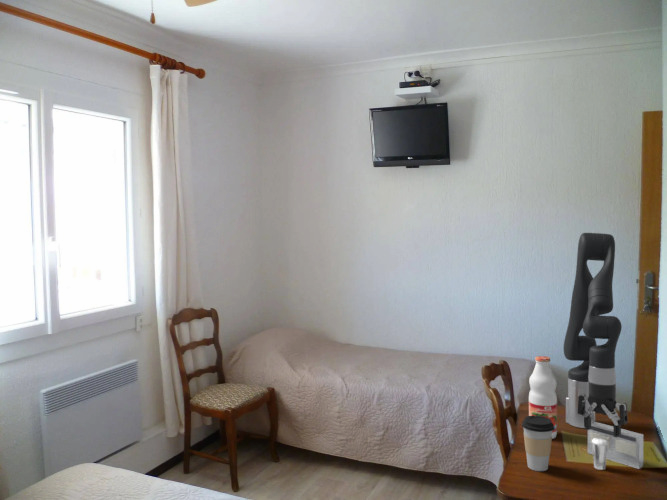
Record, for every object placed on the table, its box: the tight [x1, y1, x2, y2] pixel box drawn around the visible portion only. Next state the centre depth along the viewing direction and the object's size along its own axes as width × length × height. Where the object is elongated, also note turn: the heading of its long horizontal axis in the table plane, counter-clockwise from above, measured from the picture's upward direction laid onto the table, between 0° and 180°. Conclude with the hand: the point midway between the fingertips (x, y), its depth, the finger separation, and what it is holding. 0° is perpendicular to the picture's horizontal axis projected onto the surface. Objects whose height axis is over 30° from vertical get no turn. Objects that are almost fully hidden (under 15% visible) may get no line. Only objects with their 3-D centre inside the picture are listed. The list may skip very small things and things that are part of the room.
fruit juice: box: [528, 355, 558, 440], centre depth 199 cm, size 9×9×28 cm
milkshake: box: [592, 436, 611, 471], centre depth 173 cm, size 4×5×10 cm
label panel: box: [587, 421, 644, 470], centre depth 178 cm, size 16×3×10 cm, turn 39°
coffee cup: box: [521, 415, 554, 472], centre depth 174 cm, size 9×9×15 cm
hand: (602, 432), depth 172 cm, fingers open, 8 cm apart
